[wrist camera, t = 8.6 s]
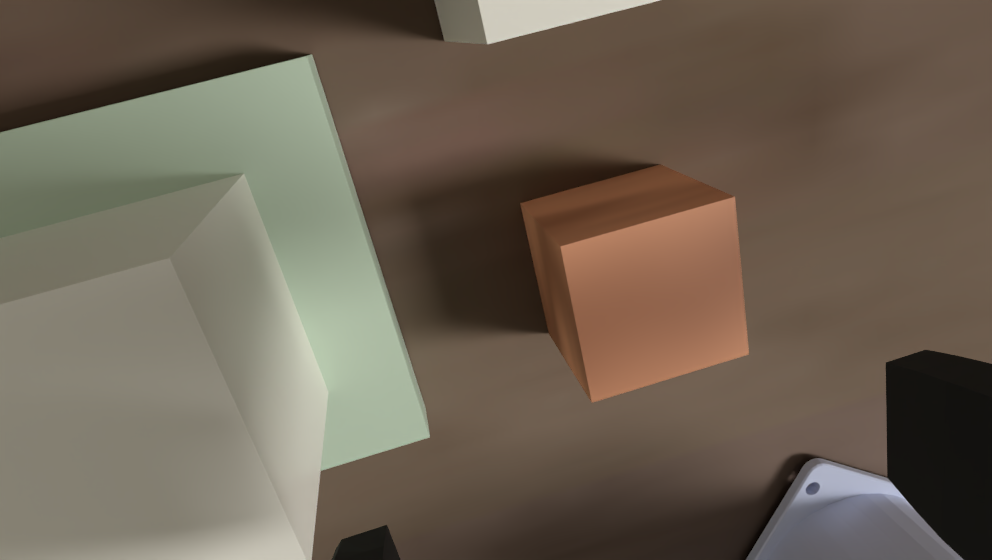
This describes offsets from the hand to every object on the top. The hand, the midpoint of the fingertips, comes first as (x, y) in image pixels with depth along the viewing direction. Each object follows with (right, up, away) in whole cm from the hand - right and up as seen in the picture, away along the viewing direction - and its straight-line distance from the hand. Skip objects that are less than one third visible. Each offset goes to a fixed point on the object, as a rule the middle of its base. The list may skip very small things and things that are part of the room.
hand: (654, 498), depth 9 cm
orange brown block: (+1, +4, +10) cm, 10 cm away
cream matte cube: (-10, +2, +6) cm, 12 cm away
